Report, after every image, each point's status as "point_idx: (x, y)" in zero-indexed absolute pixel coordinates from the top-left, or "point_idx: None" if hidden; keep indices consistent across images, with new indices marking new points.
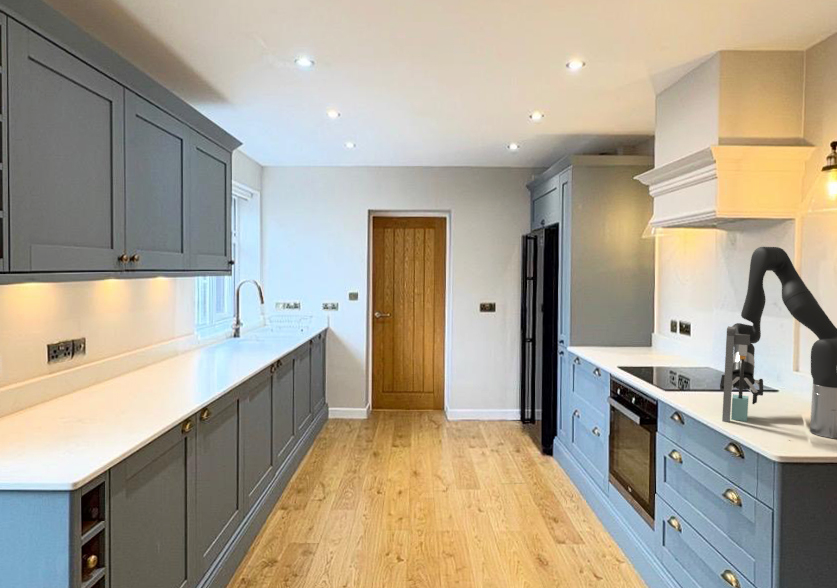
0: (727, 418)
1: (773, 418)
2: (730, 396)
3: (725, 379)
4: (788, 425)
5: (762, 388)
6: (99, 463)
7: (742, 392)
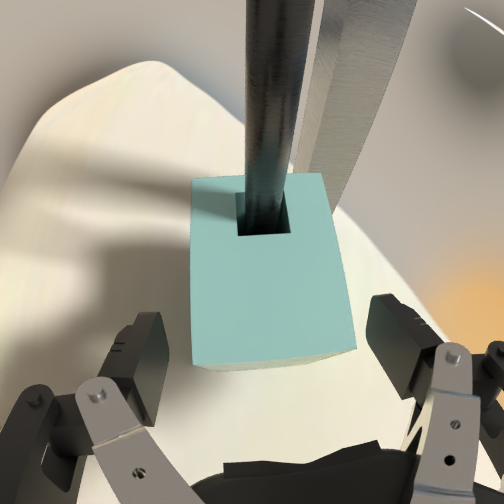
0: None
1: (107, 499)
2: (313, 81)
3: None
4: None
5: (11, 422)
6: (479, 17)
7: (245, 169)
